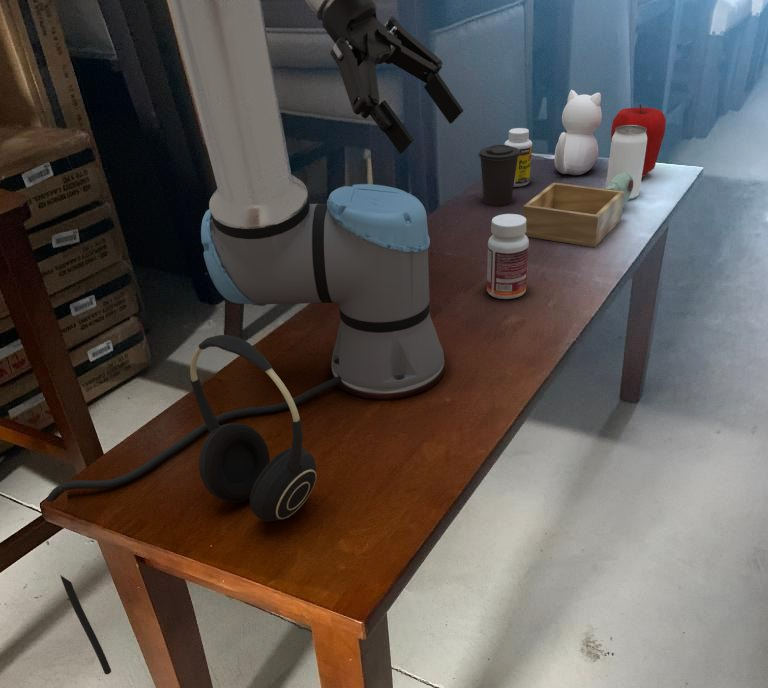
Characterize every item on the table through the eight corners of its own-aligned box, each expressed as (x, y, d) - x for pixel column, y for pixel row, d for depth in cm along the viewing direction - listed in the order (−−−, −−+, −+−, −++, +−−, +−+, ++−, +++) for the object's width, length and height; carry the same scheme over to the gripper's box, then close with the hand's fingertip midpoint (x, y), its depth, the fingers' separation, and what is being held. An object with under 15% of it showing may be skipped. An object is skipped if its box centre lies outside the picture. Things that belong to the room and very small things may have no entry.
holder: (594, 247, 133) (598, 216, 129) (521, 235, 138) (523, 205, 135) (620, 221, 141) (625, 191, 138) (550, 211, 147) (553, 182, 144)
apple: (628, 187, 154) (638, 113, 146) (595, 174, 161) (603, 103, 153) (668, 176, 158) (681, 103, 149) (634, 164, 165) (644, 94, 156)
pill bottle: (534, 292, 121) (539, 219, 113) (504, 304, 118) (508, 230, 111) (507, 280, 125) (510, 209, 117) (478, 291, 122) (479, 219, 115)
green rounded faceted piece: (617, 201, 149) (622, 164, 144) (637, 205, 147) (643, 168, 142) (598, 214, 144) (602, 177, 140) (618, 218, 142) (624, 180, 138)
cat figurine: (605, 166, 165) (615, 88, 155) (577, 183, 158) (586, 103, 148) (567, 161, 169) (574, 84, 160) (539, 177, 162) (544, 98, 152)
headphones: (288, 551, 78) (255, 380, 65) (190, 501, 86) (143, 338, 73) (341, 506, 83) (321, 339, 70) (244, 462, 91) (209, 303, 78)
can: (608, 201, 149) (617, 135, 141) (601, 190, 154) (609, 125, 146) (642, 199, 149) (653, 132, 141) (634, 188, 154) (643, 123, 146)
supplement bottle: (518, 189, 157) (521, 135, 151) (497, 184, 160) (499, 131, 154) (535, 182, 160) (538, 129, 153) (514, 177, 163) (516, 125, 157)
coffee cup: (472, 206, 151) (473, 152, 145) (483, 193, 157) (484, 140, 150) (513, 209, 149) (515, 154, 142) (522, 195, 154) (525, 142, 148)
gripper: (376, 4, 118) (460, 122, 122) (271, 45, 104) (369, 177, 108) (404, -37, 112) (491, 89, 116) (296, 1, 98) (399, 143, 102)
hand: (433, 131), depth 112 cm, fingers open, 13 cm apart
